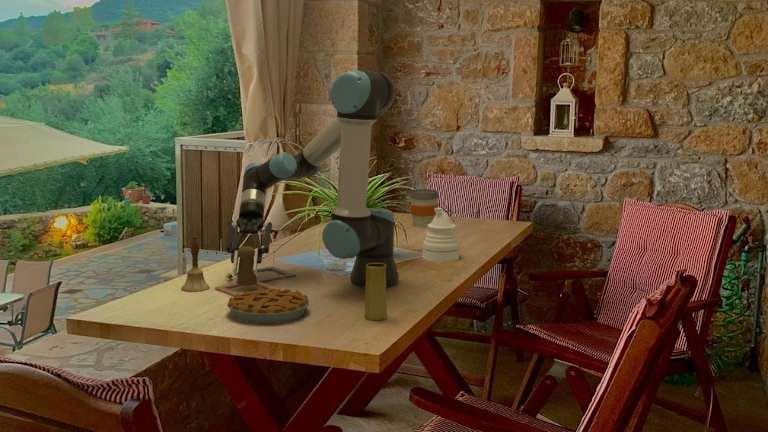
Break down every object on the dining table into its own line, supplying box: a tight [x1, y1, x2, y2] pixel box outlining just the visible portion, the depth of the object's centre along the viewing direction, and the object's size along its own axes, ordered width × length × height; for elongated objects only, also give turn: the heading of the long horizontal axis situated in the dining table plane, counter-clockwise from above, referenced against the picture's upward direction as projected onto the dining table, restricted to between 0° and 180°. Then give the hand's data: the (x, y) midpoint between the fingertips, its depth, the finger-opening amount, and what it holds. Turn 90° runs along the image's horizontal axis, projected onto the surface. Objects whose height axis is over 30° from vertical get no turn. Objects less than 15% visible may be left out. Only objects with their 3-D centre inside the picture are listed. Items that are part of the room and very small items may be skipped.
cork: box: [236, 245, 258, 287], centre depth 239 cm, size 6×6×11 cm
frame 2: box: [234, 266, 297, 283], centre depth 258 cm, size 14×14×1 cm
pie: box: [226, 288, 310, 324], centre depth 216 cm, size 22×22×5 cm
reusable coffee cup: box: [409, 188, 440, 228], centre depth 348 cm, size 13×13×15 cm
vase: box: [364, 263, 388, 321], centre depth 213 cm, size 6×6×14 cm
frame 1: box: [214, 281, 281, 298], centre depth 240 cm, size 14×14×1 cm
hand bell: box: [180, 235, 210, 293], centre depth 240 cm, size 8×8×16 cm
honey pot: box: [422, 207, 460, 263], centre depth 285 cm, size 13×13×18 cm
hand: (244, 271), depth 235 cm, fingers closed on cork, 5 cm apart
